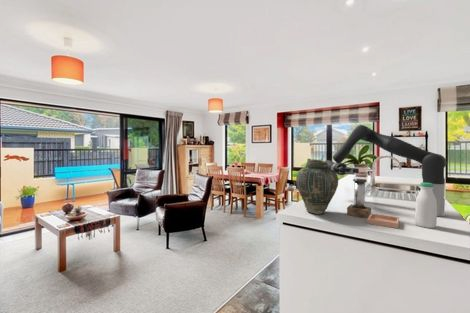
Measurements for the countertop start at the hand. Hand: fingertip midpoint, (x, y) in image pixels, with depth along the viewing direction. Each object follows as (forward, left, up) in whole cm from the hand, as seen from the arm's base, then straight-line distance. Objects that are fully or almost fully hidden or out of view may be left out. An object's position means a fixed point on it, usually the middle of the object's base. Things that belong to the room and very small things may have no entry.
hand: (350, 171), depth 138 cm
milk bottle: (-35, +11, -23) cm, 43 cm away
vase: (+13, +19, -23) cm, 33 cm away
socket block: (-7, +9, -22) cm, 25 cm away
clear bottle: (-7, +9, -22) cm, 25 cm away
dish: (-19, +18, -22) cm, 34 cm away
